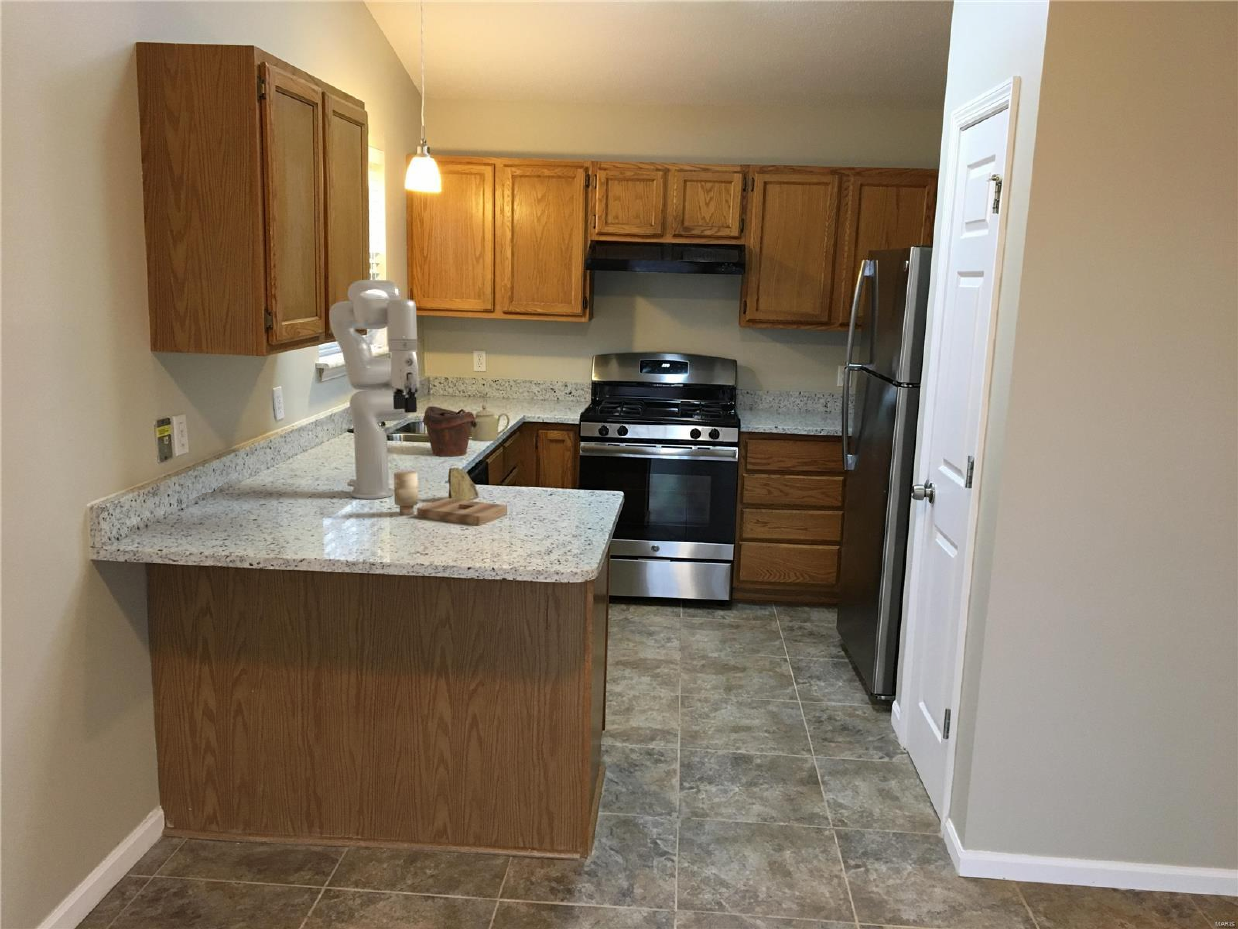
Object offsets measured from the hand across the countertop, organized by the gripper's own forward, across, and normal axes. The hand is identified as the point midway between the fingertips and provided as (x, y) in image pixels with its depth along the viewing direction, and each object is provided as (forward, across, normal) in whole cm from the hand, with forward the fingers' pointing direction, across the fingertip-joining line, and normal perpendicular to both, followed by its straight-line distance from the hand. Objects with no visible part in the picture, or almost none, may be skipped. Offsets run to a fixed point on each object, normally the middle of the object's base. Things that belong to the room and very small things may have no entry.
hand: (405, 410), depth 251 cm
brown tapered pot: (+28, +91, -44) cm, 105 cm away
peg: (+29, +4, 0) cm, 29 cm away
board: (+29, -6, -13) cm, 33 cm away
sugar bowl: (+27, +120, -72) cm, 142 cm away
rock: (+29, +13, -21) cm, 38 cm away
